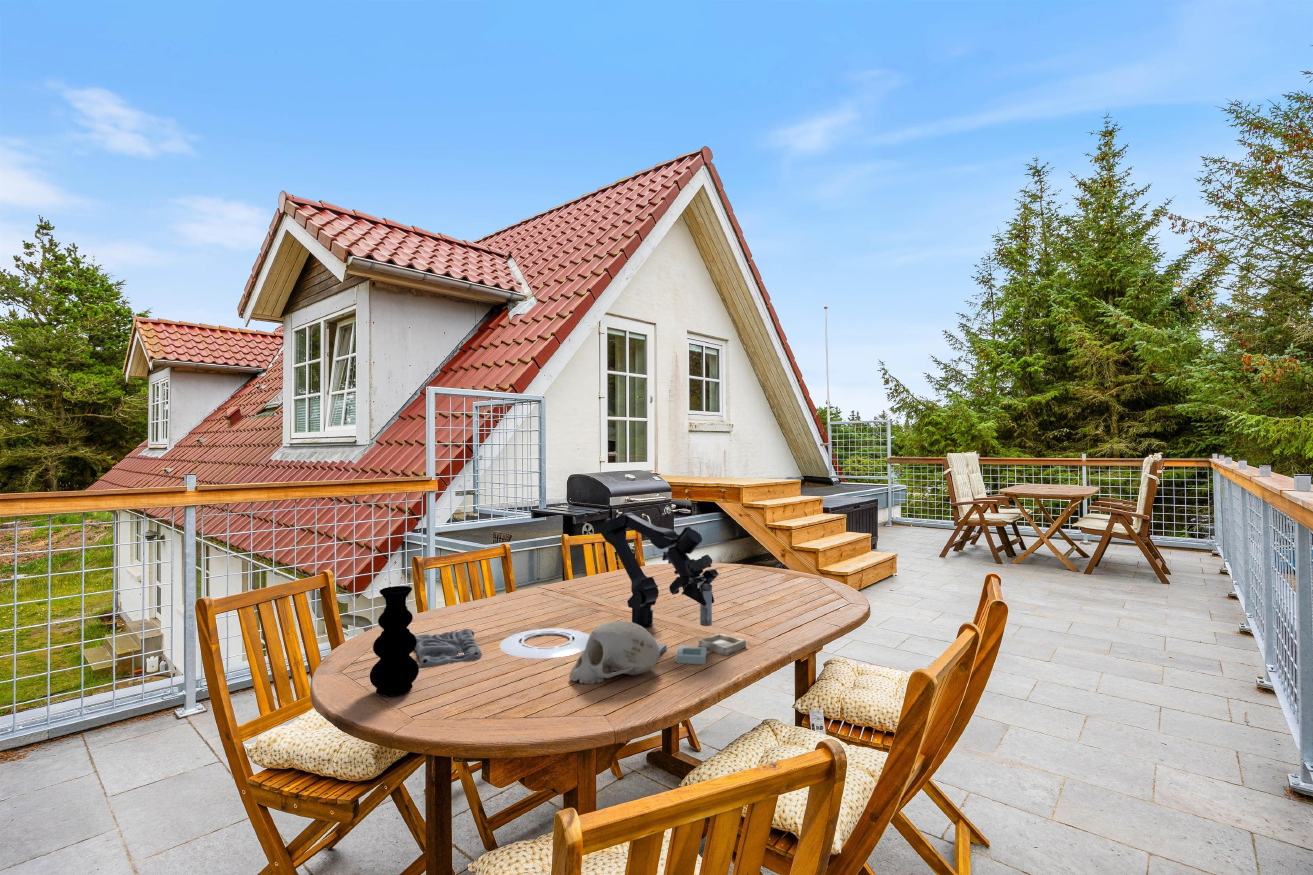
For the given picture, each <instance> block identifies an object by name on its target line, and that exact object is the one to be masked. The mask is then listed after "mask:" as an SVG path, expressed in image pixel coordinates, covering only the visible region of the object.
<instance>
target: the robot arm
mask: <svg viewBox="0 0 1313 875" xmlns="http://www.w3.org/2000/svg"><path fill="white" fill-rule="evenodd" d="M628 529H631V530H633V531H635V533H639V534H640V535H642V536H644V537H646V538H648V539H649V542H650V543H651V544H652V545H653V546H655V547H656V548H657V549H659V550H665V549H668V550H667V551H663V555H662V558H661V560H662V562H663V561H664V562H665V561H669V562H670V563H671V565H672V566H673V568H674V569H675V570H674V574H675V575H679V576H677V577H676V578H675V579H673V581H672V583H671V584H669V586H668V587H669V589H668V590H669V592H670V593H671V595H672V596H675V595H677V594H679V593H680V589H682V590H683V591H682V592H681V595H682V596H683V595H684V596H686V597H687V598H690V599H691V600H694V601H695V602H697V603H698V604H699V605H700V604H702V605H703V606H705V605H706V604H707V603H706V601H705V599H704V597H703V596H702V594H701V592H700V585H701V584H712V583H713V582H714V580H715V579H716V578H717V577H719V575H720V574H719V573H718V571H717V569H715V568H711V567H712V564H713V558H711V556H710V554H704V555H703V556H701V557H700V558H698V559H694V558H690V556H689V555H690V554H692V553H693V552H694V551H695V550H696V549H697V548H698V547H699V545H700V544H701V543H702V542H703V537H702V535H701V534H700V533H699V532H698V531H696V529H693V528H691V526H685V527H684V528H683V530H682V531H681V532H680V534H679V533H677V532H676V531H675V530H674V529H670V528H666V527H661V526H656V525H655V524H653V523H651V522H649V521H647V520H645V519H643V518H642V517H641V518H640V517H639V516H637V515H635V514H634V513H633V512H625V513H621V514H620V515H618V516H616V517H615V518H612V519H610V520H605V521H604V522H602V523H601V525H600V530H599V531H600V535H601V536H602V537H603V539H604V540H605V541H606V542H607V543H608V544H610V545H611V546H612V547H613V548H614V550H615V553H616V554H617V556H618V558H619V560H620V562H621V564H622V566H623V568H624V570H625V572H626V574H627V576H628V577H629V579H630V582H631V587H630V588H631V589H630V590H631V591H630V592H631V594H632V595H631V596H630V597H629V599H627V600H626V601H627V602H626V603H627V607H628V609H629V608H630V609H631V622H632V623H636V624H638V625H640V626H642V627H643V628H650V627H651V626H652V625H653V622H654V610H653V609H652V606H655V605H656V604H657V599H658V598H659V592H660V590H659V588H658V587H659V586H658V584H657V583H656V581H655V579H654V577H653V576H649V577H648V576H647V575H645V573H644V571H643V570H642V568H641V566H640V563H639V561H638V560H637V558H636V556H635V554H634V552H633V550H632V549H631V546H630V545H629V542H628V540H627V530H628ZM688 554H689V555H688ZM707 568H710V569H707ZM706 569H707V570H706ZM704 570H705V571H704ZM714 603H715V598H714V594H713V593H712V604H714Z"/></svg>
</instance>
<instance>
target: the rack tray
mask: <svg viewBox="0 0 1313 875" xmlns="http://www.w3.org/2000/svg"><path fill="white" fill-rule="evenodd" d="M698 647H706V651H707V650H708V651H711V652H713V651H714V652H713V653H716V654H720V653H721V654H720V655H724V656H729V655H730V653H731V654H732V652H733V653H735V652H737V650H738V651H739V650H740V651H741V650H742V649H744V647H745V648H746V647H747V641H746V639H743V638H738V637H735V636H731V635H728V634H723V633H719V632H718V633H716V634H712V635H710V636H708V637H707V636H706V637H705V638H702V639H700V640H698Z"/></svg>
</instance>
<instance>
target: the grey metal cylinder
mask: <svg viewBox="0 0 1313 875" xmlns="http://www.w3.org/2000/svg"><path fill="white" fill-rule="evenodd" d="M700 592H701V594H702V596H703V597H704V599H705V601H706V603H707V604H706V605H705V606H703V605H702V604H700V603H699V614H700V615H699V624H700V625H699V626H702V627H711V626H713V620H712V619H713V618H712V617H713V603H712V594H713V585H712V583H710V584H701V585H700Z"/></svg>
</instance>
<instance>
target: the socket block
mask: <svg viewBox="0 0 1313 875" xmlns="http://www.w3.org/2000/svg"><path fill="white" fill-rule="evenodd" d="M675 657H676V660H675V661H676V662H675V663H676V664H689V665H692V664H693V665H706V660H707V650H706V647H699V646H683V645H681V646H680V645H678V648H677V652H676V656H675Z"/></svg>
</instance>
